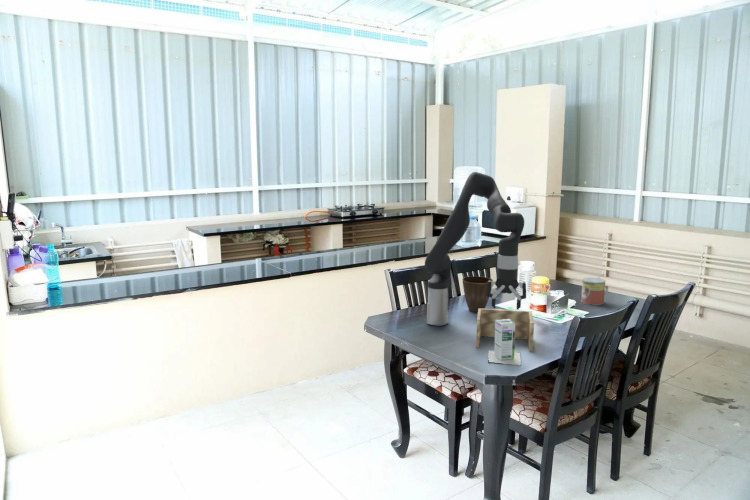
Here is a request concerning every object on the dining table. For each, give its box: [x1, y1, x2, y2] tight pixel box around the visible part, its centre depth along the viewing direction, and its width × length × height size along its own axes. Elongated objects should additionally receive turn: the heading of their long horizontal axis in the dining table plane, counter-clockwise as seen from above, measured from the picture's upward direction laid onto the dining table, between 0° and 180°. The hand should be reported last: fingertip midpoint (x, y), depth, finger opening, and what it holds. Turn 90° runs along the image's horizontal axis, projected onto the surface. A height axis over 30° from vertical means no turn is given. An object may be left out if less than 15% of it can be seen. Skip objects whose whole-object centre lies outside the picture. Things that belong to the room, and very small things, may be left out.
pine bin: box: [475, 308, 535, 353], centre depth 216 cm, size 22×16×12 cm
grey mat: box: [487, 350, 522, 367], centre depth 201 cm, size 12×12×1 cm
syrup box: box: [493, 319, 516, 360], centre depth 200 cm, size 6×6×14 cm
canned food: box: [580, 277, 606, 306], centre depth 276 cm, size 11×11×12 cm
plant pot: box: [461, 275, 494, 313], centre depth 262 cm, size 15×15×16 cm
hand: (505, 308), depth 197 cm, fingers open, 8 cm apart
